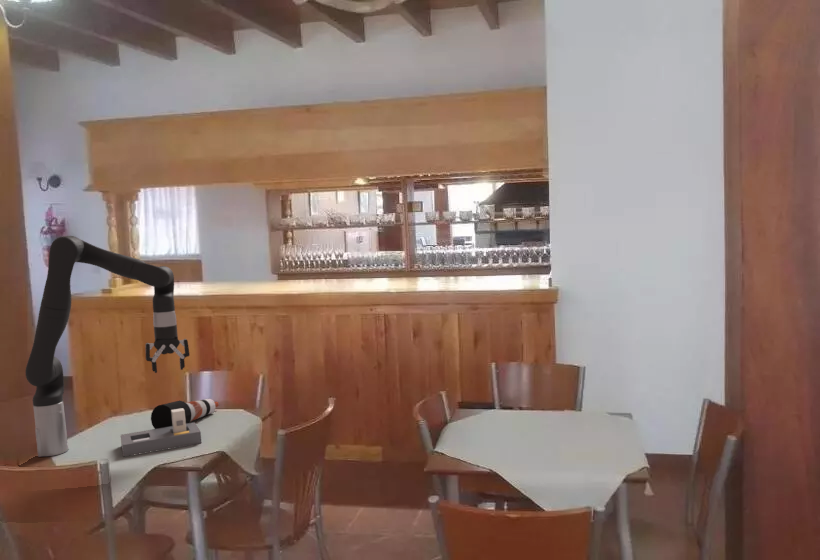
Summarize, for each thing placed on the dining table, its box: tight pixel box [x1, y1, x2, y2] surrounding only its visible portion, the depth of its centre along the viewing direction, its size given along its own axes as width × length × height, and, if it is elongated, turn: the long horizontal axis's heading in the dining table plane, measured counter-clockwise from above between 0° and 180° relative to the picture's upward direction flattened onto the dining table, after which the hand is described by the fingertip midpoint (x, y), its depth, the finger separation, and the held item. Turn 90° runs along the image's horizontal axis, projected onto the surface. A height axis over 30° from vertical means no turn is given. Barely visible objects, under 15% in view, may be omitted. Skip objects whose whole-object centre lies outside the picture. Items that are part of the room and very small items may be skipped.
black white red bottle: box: [150, 398, 220, 429], centre depth 280 cm, size 10×34×10 cm, turn 159°
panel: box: [120, 421, 203, 457], centre depth 253 cm, size 25×14×4 cm, turn 114°
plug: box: [171, 408, 186, 433], centre depth 255 cm, size 4×5×11 cm
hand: (168, 370), depth 254 cm, fingers open, 8 cm apart
